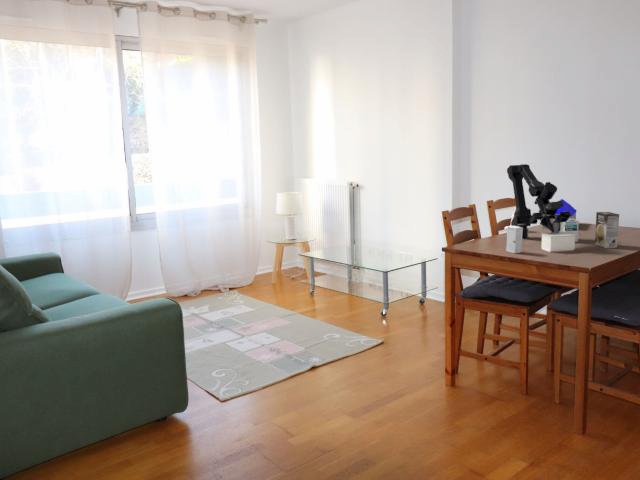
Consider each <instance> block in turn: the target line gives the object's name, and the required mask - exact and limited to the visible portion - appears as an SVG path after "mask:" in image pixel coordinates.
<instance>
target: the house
mask: <svg viewBox="0 0 640 480" xmlns="http://www.w3.org/2000/svg"><path fill="white" fill-rule="evenodd" d="M559 201H562V203H563V207H562V208H560V209H558V210H557V213H555V214H560V212H561V211H569V212H570V213H571V216H570V217H569V219H575V220H577V209H575V207H573V206H572V205H571V204H570V203H569V202H567V201H566V200H565V199H563V198H561V199H560V200H559ZM550 221H551V224H552V223H553V222H554V221H553V219H550ZM541 226H542V229H544V230H546V229H547V230H549V229H548V228H546V227H545V226H543V225H541ZM560 230H561V222H560Z"/></svg>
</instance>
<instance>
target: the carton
mask: <svg viewBox="0 0 640 480" xmlns="http://www.w3.org/2000/svg"><path fill="white" fill-rule="evenodd" d="M575 244H576V242H575V236H563V237H548V236H545V235H541V247H540V248H541V250H543V251H546V252H548V253H556V252H557V253H559V252H560V253H561V252H573V251H575V246H576V245H575Z"/></svg>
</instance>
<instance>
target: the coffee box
mask: <svg viewBox="0 0 640 480" xmlns="http://www.w3.org/2000/svg"><path fill="white" fill-rule="evenodd" d="M595 215H596V218H595V235H594V238H595V239H594V245H595V246H598V247H601V248H603V249H612V248H614V249H615V248H616V249H617V248H618V240H619V224H620V213H619V214H618V213H614V212H611V211H596V213H595Z"/></svg>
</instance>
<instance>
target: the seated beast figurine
mask: <svg viewBox="0 0 640 480" xmlns="http://www.w3.org/2000/svg"><path fill="white" fill-rule="evenodd" d="M514 213H515V210H514V211H513V213H512V215H511V220H510V222H511V221H512V220H513V218H514ZM508 226H511V223H510V225H507V226H505V227H504V231H507V227H508Z"/></svg>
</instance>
